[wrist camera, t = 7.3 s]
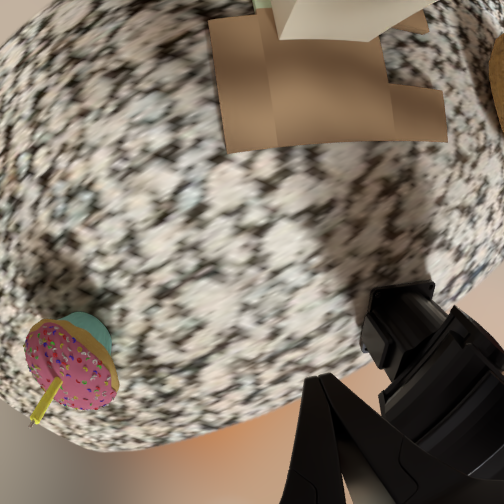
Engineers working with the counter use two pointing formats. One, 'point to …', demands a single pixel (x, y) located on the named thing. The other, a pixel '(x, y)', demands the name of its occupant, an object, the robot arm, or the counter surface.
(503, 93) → the potato
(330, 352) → the counter surface
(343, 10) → the block
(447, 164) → the counter surface
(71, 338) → the cupcake
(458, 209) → the counter surface
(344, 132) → the lane board
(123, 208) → the counter surface
